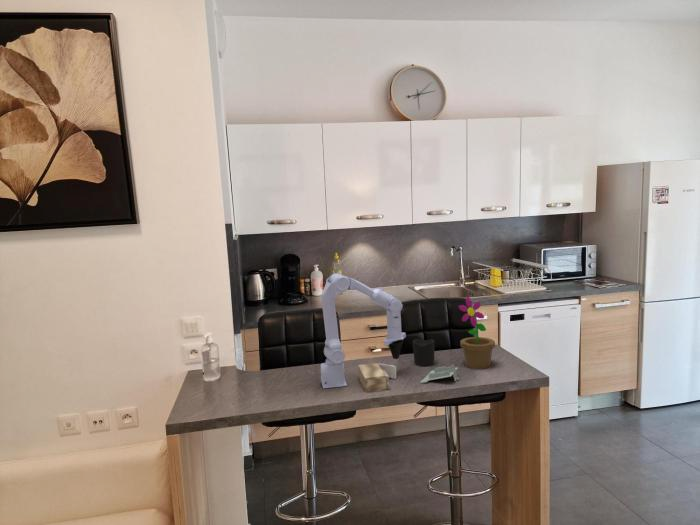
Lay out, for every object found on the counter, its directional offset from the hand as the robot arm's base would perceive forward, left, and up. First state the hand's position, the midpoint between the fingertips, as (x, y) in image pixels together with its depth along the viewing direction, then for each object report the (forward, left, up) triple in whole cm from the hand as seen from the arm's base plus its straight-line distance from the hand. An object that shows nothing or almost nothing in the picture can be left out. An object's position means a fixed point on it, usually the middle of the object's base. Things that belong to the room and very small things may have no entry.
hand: (395, 358), depth 200 cm
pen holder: (+15, +10, -7) cm, 19 cm away
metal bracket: (+15, -11, -7) cm, 20 cm away
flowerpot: (+36, +1, -7) cm, 37 cm away
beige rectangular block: (-12, -8, -7) cm, 16 cm away
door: (-4, -3, -7) cm, 8 cm away
